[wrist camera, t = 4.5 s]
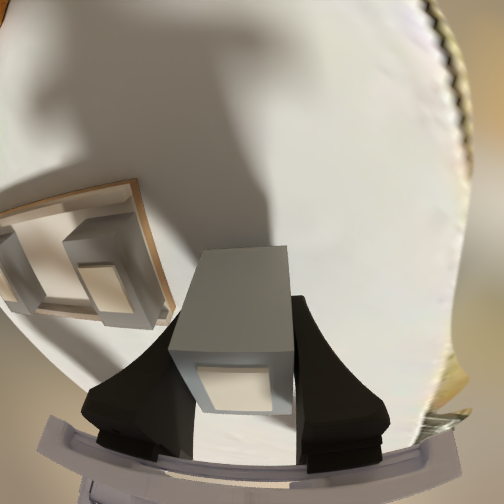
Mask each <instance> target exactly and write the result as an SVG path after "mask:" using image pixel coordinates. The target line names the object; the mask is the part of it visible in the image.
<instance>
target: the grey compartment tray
mask: <svg viewBox="0 0 504 504" xmlns="http://www.w3.org/2000/svg"><path fill="white" fill-rule="evenodd" d="M0 295H1V296H2V298H3V300H4V301H5V303H6V304H7V306H8V308H9V309H10V311H11V312H15V313H20V314H25V315H31V316H32V315H33V313H40V314H47V315H53V316H61V317H68V318H76V319H85V320H94V321H102V323H103V324H104V326H110V327H120V328H132V329H145V330H153V329H154V326H155V325H159V326H169V324H170V321H171V318H172V316H173V313H174V310H175V308H176V306H175V303H174V300H173V297H172V295H171V292H170V289H169V286H168V283H167V280H166V278H165V275H164V272H163V269H162V266H161V263H160V260H159V257H158V253H157V250H156V247H155V244H154V241H153V237H152V234H151V231H150V227H149V224H148V220H147V217H146V213H145V210H144V206H143V202H142V198H141V195H140V191H139V187H138V183H137V179H136V178H135V179H130V180H124V181H119V182H114V183H109V184H104V185H100V186H95V187H91V188H86V189H82V190H78V191H74V192H70V193H66V194H62V195H58V196H54V197H51V198H47V199H44V200H40V201H37V202H33V203H30V204H27V205H23V206H20V207H17V208H14V209H11V210H8V211H5V212H2V213H0Z"/></svg>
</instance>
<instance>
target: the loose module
mask: <svg viewBox="0 0 504 504" xmlns="http://www.w3.org/2000/svg"><path fill="white" fill-rule="evenodd" d="M168 351H169V353H170V355H171V357H172V359H173V360H174V362H175V364H176V366H177V368H178V370H179V372H180V373H181V375H182V377H183V379H184V381H185V382H186V384H187V386H188V388H189V390H190V391H191V393H192V395H193V396H194V398H195V400H196V401H197V403H198V405H199V406H200V408H201V410H202V411H203V412H205V413H218V414H237V415H289V414H292V396H293V373H294V338H293V321H292V305H291V291H290V278H289V265H288V253H287V246H266V247H246V248H226V249H207V250H203V252H202V254H201V257H200V260H199V262H198V265H197V268H196V270H195V273H194V276H193V278H192V281H191V284H190V287H189V289H188V292H187V295H186V298H185V301H184V303H183V306H182V309H181V312H180V315H179V318H178V321H177V324H176V326H175V329H174V332H173V335H172V338H171V341H170V344H169V347H168Z"/></svg>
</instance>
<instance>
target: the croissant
mask: <svg viewBox="0 0 504 504" xmlns="http://www.w3.org/2000/svg"><path fill="white" fill-rule="evenodd" d="M8 1H9V0H0V26H1V23H2V19H3V15H4V12H5V8H6V6H7V4H8Z"/></svg>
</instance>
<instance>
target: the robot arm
mask: <svg viewBox="0 0 504 504" xmlns="http://www.w3.org/2000/svg"><path fill="white" fill-rule="evenodd" d="M291 305H292V321H293V338H294V378H295V387H296V465H290V466H248V465H231V464H219V463H209V462H201V461H194V460H193V432H194V418H195V407H196V400H195V398H194V396H193V395H192V393H191V391H190V390H189V388H188V386H187V384H186V382H185V381H184V379H183V377H182V375H181V373H180V372H179V370H178V368H177V366H176V364H175V362H174V360H173V359H172V357H171V355H170V353H169V351H168V347H169V344H170V341H171V338H172V335H173V332H174V329H175V326H176V324H177V321H178V318H179V315H180V312H181V311H180V312H179V313H178V315H177V316H176V317H175V318H174V320H173V321H172V322H171V323H170V325H169V326H168V327H167V328H166V329H165V331H164V332H163V333H162V334H161V335H160V336H159V337H158V339H157V340H156V341H155V342H154V343H153V344H152V345H151V346H150V347H149V348H148V349H147V350H146V351H145V352H144V353H143V354H142V355H141V356H139V357H138V358H137V359H136V360H135V361H133V362H132V363H131V364H130V365H128V366H127V367H126V368H125V369H123V370H122V371H120V372H119V373H117V374H116V375H114V376H113V377H111V378H110V379H108V380H106V381H105V382H103V383H101V384H99V385H97V386H95V387H93V388H91V389H90V390H89V392H88V394H87V397H86V399H85V402H84V404H83V407H82V409H81V413H82V415H83V416H84V417H85V418H86V419H87V420H88V421H89V422H90V423H92V424H93V425H94V426H96V427H97V428H98V429H99V430H100V431H99V434H98V437H96V436H93V435H90V434H87V433H84V432H82V431H79V430H77V429H75V428H74V427H73V426H72V425H70V424H69V423H67V422H66V421H63V420H61V419H59V418H57V417H55V416H53V415H50V416H49V418H48V421H47V423H46V426H45V428H44V431H43V434H42V436H41V439H40V442H39V444H38V447H37V452H39V453H40V454H42V455H44V456H45V457H47V458H49V459H51V460H53V461H54V462H56V463H58V464H60V465H62V466H63V467H65V468H67V469H69V470H71V471H73V472H75V473H77V474H80V475H82V476H83V477H82V481H81V485H80V489H79V493H80V495H79V498H78V504H96V503H97V504H385V503H389V502H393V501H396V500H400V499H403V498H406V497H409V496H412V495H415V494H418V493H421V492H424V491H426V490H429V489H432V488H434V487H437V486H439V485H442V484H444V483H447V482H449V481H451V480H453V479H455V478H458V477H460V476H461V475H462V471H461V466H460V461H459V456H458V451H457V447H456V443H455V439H454V435H453V431H452V429H449V430H446V431H444V432H441V433H438V434H435V435H432V436H430V437H428V438H426V439H424V440H423V441H422V442H421V443H420V444H417V445H414V446H410V447H407V448H403V449H399V450H395V451H391V452H387V453H383V454H382V451H381V444H382V436H381V435H382V434H383V433H384V432H385V431H386V430H387V428H388V427H389V425H390V418H389V415H388V412H387V409H386V407H385V405H384V403H383V401H382V400H381V399H380V398H379V397H377V396H376V395H375V394H374V393H372V392H371V391H370V390H369V389H368V388H367V387H366V386H364V385H363V384H362V383H361V382H360V381H359V380H358V379H357V378H356V377H355V376H354V375H353V374H352V373H351V372H350V370H349V369H348V368H347V367H346V366H345V365H344V364H343V363H342V361H341V360H340V359H339V358H338V356H337V355H336V354H335V353H334V351H333V350H332V348H331V347H330V346H329V344H328V343H327V341H326V340H325V338H324V336H323V335H322V333H321V332H320V330H319V328H318V326H317V324H316V323H315V321H314V319H313V317H312V315H311V313H310V311H309V308H308V306H307V303H306V301H305V297H304V296H302V295H299V296H291ZM169 471H170V472H175V473H180V474H186V475H191V476H198V477H205V478H214V479H223V480H235V481H254V482H255V481H256V482H287V481H298V482H291V483H290V488H289V489H277V488H276V489H275V488H274V489H273V488H255V487H242V486H232V485H221V484H213V483H205V482H199V481H191V480H185V479H179V478H174V477H171V476H169V475H167V474H166V473H167V472H169ZM89 493H90V494H89ZM94 502H95V503H94Z"/></svg>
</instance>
